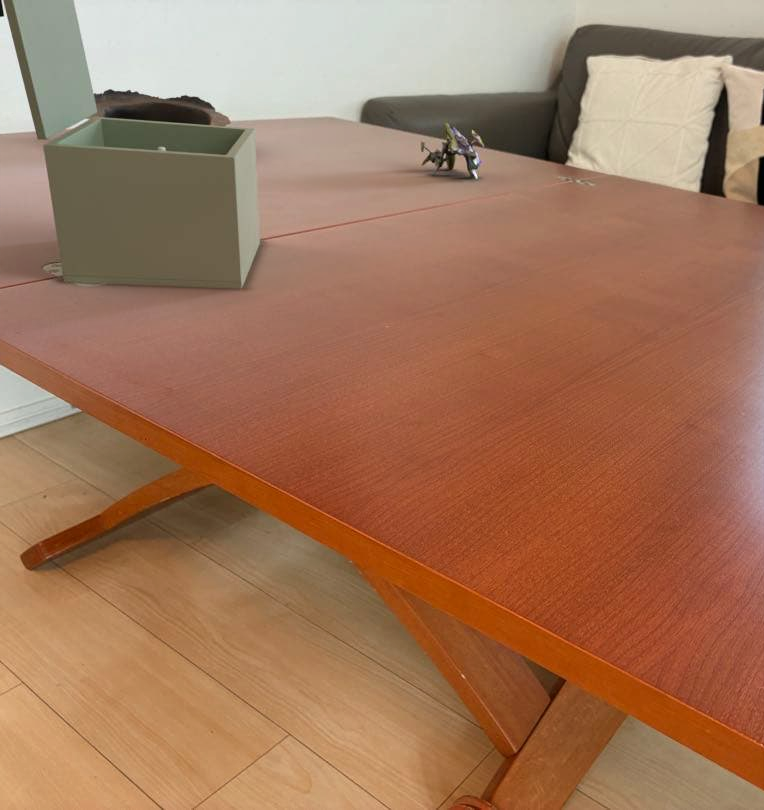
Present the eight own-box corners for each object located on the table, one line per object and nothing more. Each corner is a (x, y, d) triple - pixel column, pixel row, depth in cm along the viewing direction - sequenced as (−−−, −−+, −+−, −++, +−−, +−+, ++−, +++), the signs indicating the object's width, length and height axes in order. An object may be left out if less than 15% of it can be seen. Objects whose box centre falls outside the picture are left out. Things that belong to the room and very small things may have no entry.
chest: (260, 244, 110) (254, 128, 103) (241, 291, 94) (234, 157, 87) (109, 237, 106) (94, 116, 100) (64, 284, 90) (42, 144, 84)
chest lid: (58, -73, 91) (49, -73, 91) (-7, -81, 75) (-18, -82, 75) (97, 112, 99) (89, 112, 99) (46, 139, 84) (37, 139, 83)
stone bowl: (129, 132, 164) (128, 81, 160) (253, 158, 163) (255, 109, 159) (45, 150, 142) (41, 92, 138) (187, 181, 141) (188, 124, 137)
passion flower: (470, 208, 161) (494, 164, 152) (415, 196, 157) (437, 150, 147) (465, 164, 167) (488, 119, 157) (412, 151, 162) (432, 104, 153)
